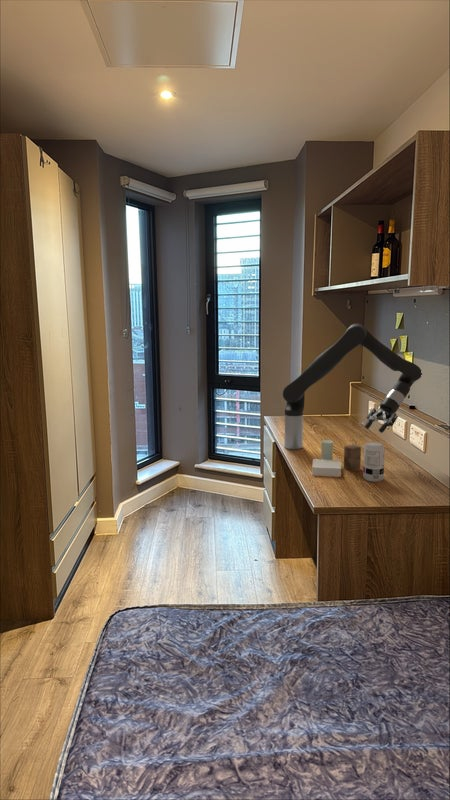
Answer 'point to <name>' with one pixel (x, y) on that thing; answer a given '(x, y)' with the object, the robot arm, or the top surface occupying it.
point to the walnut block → (352, 457)
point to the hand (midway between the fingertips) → (373, 429)
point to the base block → (326, 467)
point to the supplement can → (373, 461)
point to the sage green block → (327, 450)
